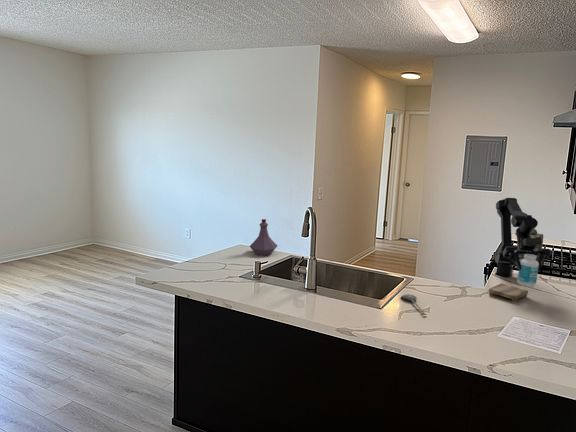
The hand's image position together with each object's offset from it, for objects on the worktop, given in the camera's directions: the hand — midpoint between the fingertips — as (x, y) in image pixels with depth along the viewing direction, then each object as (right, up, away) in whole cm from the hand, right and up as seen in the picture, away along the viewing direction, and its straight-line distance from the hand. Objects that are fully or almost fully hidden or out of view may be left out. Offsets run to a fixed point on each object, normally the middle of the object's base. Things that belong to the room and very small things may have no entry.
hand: (529, 270), depth 198 cm
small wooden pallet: (-7, -12, +5) cm, 15 cm away
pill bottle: (0, -7, +3) cm, 7 cm away
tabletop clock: (+26, -3, +52) cm, 59 cm away
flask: (-120, +2, +65) cm, 136 cm away
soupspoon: (-52, -15, -7) cm, 55 cm away
